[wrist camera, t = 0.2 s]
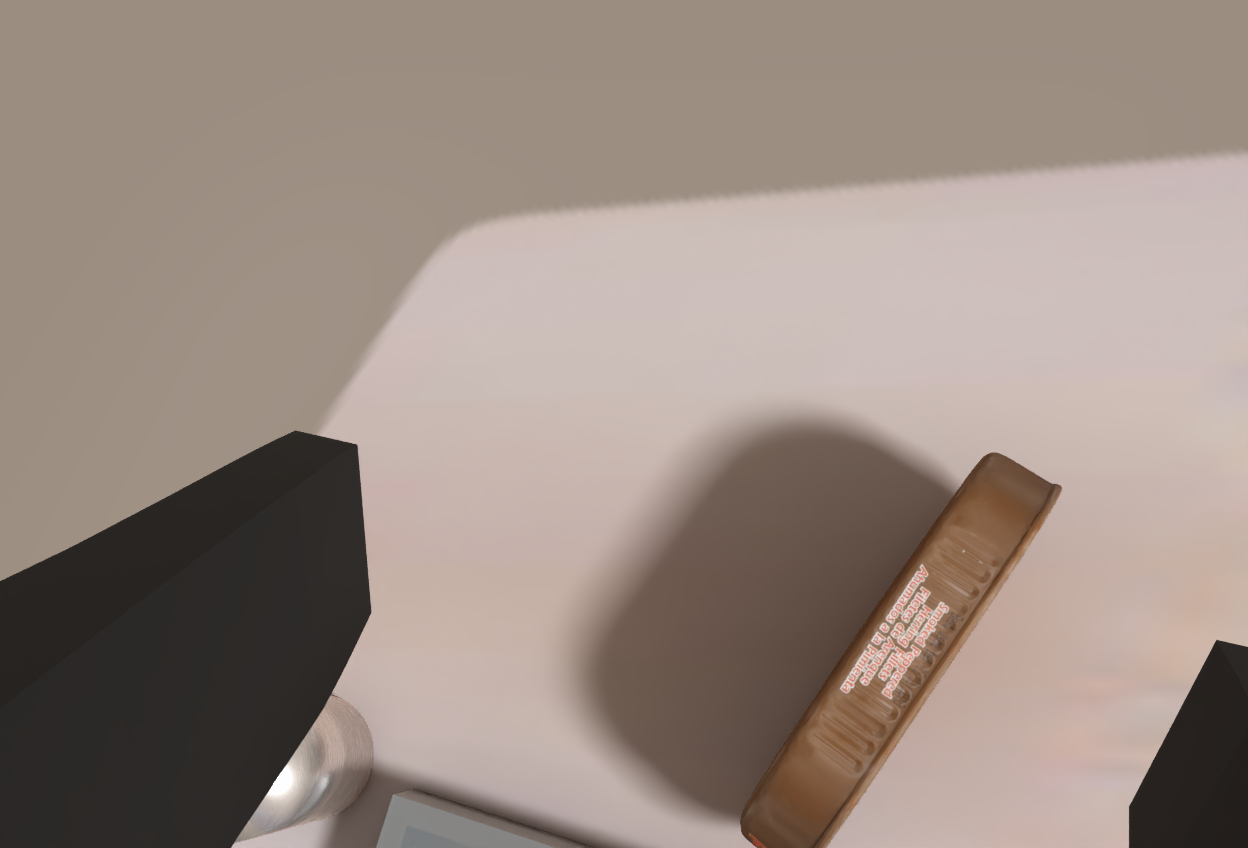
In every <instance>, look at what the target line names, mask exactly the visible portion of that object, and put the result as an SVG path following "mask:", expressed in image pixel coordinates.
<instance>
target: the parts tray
mask: <svg viewBox="0 0 1248 848" xmlns="http://www.w3.org/2000/svg"><path fill="white" fill-rule="evenodd" d="M376 848H593V847H590V846H587V845H584V844H581V843H578V842H575V841H572V840H569V839H566V838H563V837H559V836H556V835H553V834H550V833H547V832H544V831H541V830H538V829H535V828H532V827H529V826H526V825H523V824H520V823H517V822H514V821H511V820H507V819H504V818H501V817H498V816H495V815H492V814H489V813H486V812H483V811H480V810H477V809H474V808H471V807H468V806H465V805H462V804H459V803H455V802H452V801H449V800H446V799H443V798H440V797H437V796H434V795H431V794H428V793H425V792H422V791H419V790H416V789H412V790H408V791H404V792H400V793H396V794H393V796H392V799H391V802H390V805H389V808H388V811H387V814H386V817H385V821H384V824H383V827H382V830H381V833H380V836H379V839H378V843H377V846H376Z"/></svg>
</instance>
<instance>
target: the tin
mask: <svg viewBox="0 0 1248 848" xmlns="http://www.w3.org/2000/svg"><path fill="white" fill-rule="evenodd" d="M1061 491H1062V487H1061V486H1060V485H1058V484H1051V483H1049V482H1048V481H1046V480H1044V479H1043V478H1041V477H1039V476H1038V475H1036V474H1035V473H1033V472H1031V471H1030V470H1028V469H1027V468H1025V467H1023V466H1021V465H1020V464H1018V463H1016V462H1015V461H1013V460H1011V459H1010V458H1008V457H1006V456H1004V455H1002V454H999V453H989V454H987V455H985V456H984V457H983V458H982V459H981V460H980V461H979V463H978V464H977V465H976V466H975V467H974V469H973V470H972V471H971V473H970V474H969V475H968V477H967V478H966V479H965V481H964V482H963V484H962V485H961V487H960V488H959V489H958V491H957V492H956V494H955V495H954V496H953V498H952V499H951V501H950V502H949V504H948V505H947V506H946V508H945V509H944V511H943V512H942V513H941V515H940V516H939V518H938V519H937V520H936V522H935V523H934V525H933V526H932V528H931V529H930V530H929V532H928V533H927V535H926V536H925V538H924V539H923V540H922V542H921V543H920V545H919V546H918V548H917V549H916V550H915V552H914V553H913V555H912V556H911V558H910V559H909V560H908V562H907V563H906V565H905V566H904V568H903V569H902V571H901V572H900V573H899V575H898V576H897V578H896V579H895V581H894V582H893V583H892V585H891V586H890V588H889V589H888V591H887V592H886V593H885V595H884V596H883V598H882V599H881V601H880V602H879V603H878V605H877V606H876V608H875V609H874V611H873V612H872V613H871V615H870V616H869V618H868V619H867V621H866V622H865V624H864V625H863V627H862V628H861V630H860V631H859V632H858V634H857V635H856V637H855V638H854V640H853V641H852V643H851V644H850V646H849V647H848V649H847V650H846V652H845V653H844V655H843V656H842V658H841V659H840V661H839V662H838V664H837V665H836V667H835V668H834V670H833V671H832V673H831V674H830V676H829V677H828V679H827V680H826V682H825V684H824V685H823V687H822V688H821V690H820V691H819V693H818V694H817V696H816V697H815V699H814V700H813V702H812V703H811V705H810V706H809V708H808V709H807V711H806V712H805V714H804V715H803V717H802V718H801V720H800V721H799V723H798V724H797V726H796V727H795V729H794V730H793V732H792V733H791V735H790V736H789V738H788V739H787V741H786V742H785V744H784V745H783V747H782V748H781V750H780V752H779V753H778V755H777V756H776V758H775V759H774V761H773V762H772V764H771V765H770V767H769V768H768V770H767V771H766V773H765V775H764V776H763V778H762V779H761V781H760V782H759V784H758V785H757V787H756V789H755V790H754V792H753V794H752V796H751V797H750V799H749V801H748V802H747V804H746V806H745V808H744V810H743V813H742V816H741V821H740V823H741V832H742V834H743V835H744V837H745V838H746V839H747V840H748V841H750V842H751V843H752V844H753V845H754V846H756V847H757V848H826V847H827V846H828V844H829V843H830V842H831V840H832V839H833V837H834V836H835V834H836V833H837V832H838V831H839V829H840V828H841V826H842V825H843V824H844V822H845V821H846V819H847V818H848V816H849V815H850V814H851V812H852V810H853V808H854V807H855V806H856V805H857V803H858V802H859V800H860V799H861V797H862V796H863V794H864V793H865V792H866V790H867V788H868V787H869V785H870V784H871V782H872V781H873V780H874V778H875V777H876V775H877V774H878V772H879V771H880V770H881V768H882V766H883V765H884V763H885V762H886V760H887V759H888V757H889V756H890V754H891V753H892V751H893V750H894V748H895V747H896V745H897V744H898V742H899V741H900V739H901V738H902V736H903V735H904V733H905V732H906V730H907V729H908V727H909V726H910V724H911V723H912V722H913V720H914V719H915V717H916V716H917V714H918V713H919V711H920V710H921V708H922V706H923V705H924V704H925V702H926V700H927V699H928V697H929V696H930V694H931V693H932V691H933V690H934V689H935V687H936V685H937V684H938V682H939V680H940V679H941V677H942V676H943V674H944V673H945V672H946V670H947V669H948V667H949V666H950V664H951V663H952V661H953V660H954V658H955V657H956V655H957V654H958V652H959V651H960V649H961V648H962V646H963V644H964V643H965V641H966V640H967V639H968V637H969V636H970V634H971V632H972V631H973V630H974V628H975V627H976V625H977V624H978V622H979V621H980V619H981V618H982V616H983V615H984V613H985V612H986V610H987V609H988V607H989V605H990V604H991V602H992V601H993V600H994V598H995V597H996V595H997V594H998V592H999V591H1000V589H1001V588H1002V586H1003V585H1004V583H1005V582H1006V581H1007V579H1008V578H1009V576H1010V574H1011V573H1012V571H1013V570H1014V569H1015V567H1016V566H1017V564H1018V563H1019V561H1020V560H1021V558H1022V557H1023V555H1024V553H1025V552H1026V550H1027V549H1028V547H1029V545H1030V544H1031V542H1032V541H1033V539H1034V537H1035V536H1036V534H1037V532H1038V531H1039V530H1040V528H1041V527H1042V525H1043V523H1044V522H1045V519H1046V518H1047V516H1048V514H1049V513H1050V511H1051V509H1052V508H1053V506H1054V505H1055V503H1056V501H1057V499H1058V497H1059V495H1060V493H1061Z"/></svg>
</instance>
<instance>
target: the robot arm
mask: <svg viewBox="0 0 1248 848" xmlns="http://www.w3.org/2000/svg"><path fill="white" fill-rule="evenodd" d="M370 614H371V603H370V591H369V579H368V567H367V555H366V543H365V531H364V519H363V507H362V495H361V483H360V471H359V459H358V447H357V445H356V444H352V443H348V442H343V441H339V440H334V439H330V438H326V437H321V436H317V435H312V434H308V433H304V432H299V431H294V432H291V433H289V434H287V435H285V436H283V437H281V438H279V439H276V440H274V441H272V442H270V443H268V444H266V445H264V446H263V447H260V448H258V449H256V450H254V451H252V452H251V453H249V454H247V455H245V456H243V457H241V458H239V459H237V460H235V461H233V462H232V463H230V464H228V465H226V466H224V467H222V468H220V469H219V470H216V471H215V472H213V473H211V474H209V475H207V476H205V477H203V478H202V479H200V480H198V481H196V482H194V483H192V484H190V485H189V486H187V487H185V488H183V489H181V490H180V491H178V492H175V493H174V494H172V495H170V496H168V497H166V498H164V499H162V500H160V501H159V502H157V503H155V504H153V505H151V506H149V507H147V508H145V509H143V510H141V511H139V512H138V513H136V514H134V515H132V516H130V517H128V518H126V519H124V520H122V521H120V522H118V523H117V524H115V525H113V526H111V527H109V528H107V529H106V530H103V531H102V532H99V533H98V534H96V535H94V536H92V537H90V538H88V539H86V540H84V541H82V542H80V543H79V544H77V545H74V546H72V547H71V548H69V549H67V550H65V551H62V552H60V553H58V554H56V555H54V556H52V557H50V558H48V559H46V560H44V561H42V562H39V563H37V564H35V565H33V566H31V567H29V568H27V569H25V570H23V571H21V572H19V573H16V574H14V575H12V576H10V577H8V578H6V579H4V580H2V581H0V848H231V847H232V845H233V844H234V842H235V841H236V839H237V838H238V836H239V835H240V833H241V832H242V830H243V829H244V827H245V826H246V824H247V823H248V822H249V820H250V819H251V817H252V816H253V814H254V813H255V811H256V810H257V808H258V807H259V805H260V804H261V802H262V801H263V799H264V798H265V796H266V795H267V793H268V792H269V790H270V789H271V788H272V786H273V785H274V783H275V782H276V780H277V779H278V777H279V776H280V774H281V773H282V771H283V770H284V768H285V767H286V765H287V764H288V762H289V761H290V759H291V758H292V756H293V754H294V753H295V751H296V750H297V748H298V747H299V745H300V744H301V742H302V741H303V739H304V738H305V736H306V735H307V733H308V732H309V730H310V729H311V727H312V726H313V724H314V723H315V721H316V720H317V718H318V716H319V715H320V713H321V712H322V710H323V709H324V707H325V705H326V703H327V701H328V699H329V697H330V695H331V693H332V691H333V689H334V688H335V686H336V684H337V682H338V680H339V678H340V676H341V674H342V672H343V670H344V668H345V666H346V664H347V662H348V660H349V658H350V656H351V654H352V652H353V650H354V648H355V646H356V644H357V641H358V639H359V637H360V635H361V633H362V631H363V629H364V627H365V625H366V623H367V621H368V619H369V616H370ZM1129 848H1248V647H1245V646H1241V645H1236V644H1232V643H1228V642H1223V641H1219V640H1216V642H1215V644H1214V646H1213V648H1212V650H1211V651H1210V653H1209V655H1208V657H1207V659H1206V661H1205V663H1204V665H1203V667H1202V669H1201V671H1200V672H1199V674H1198V676H1197V678H1196V680H1195V682H1194V684H1193V686H1192V688H1191V690H1190V692H1189V694H1188V695H1187V697H1186V699H1185V701H1184V703H1183V705H1182V707H1181V709H1180V711H1179V713H1178V715H1177V716H1176V718H1175V720H1174V722H1173V724H1172V726H1171V728H1170V730H1169V732H1168V734H1167V736H1166V737H1165V739H1164V741H1163V743H1162V745H1161V747H1160V749H1159V751H1158V753H1157V755H1156V757H1155V758H1154V760H1153V762H1152V764H1151V766H1150V768H1149V770H1148V772H1147V774H1146V776H1145V778H1144V779H1143V781H1142V783H1141V785H1140V787H1139V789H1138V791H1137V793H1136V795H1135V797H1134V799H1133V801H1132V802H1131V804H1130V806H1129Z"/></svg>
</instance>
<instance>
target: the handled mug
mask: <svg viewBox="0 0 1248 848" xmlns="http://www.w3.org/2000/svg"><path fill="white" fill-rule="evenodd" d="M372 764H373V741H372V737H371V733H370V730H369V728H368V725H367V724H366V722H365V720H364V718H363V717H362V716H361V714H360V713H359V712H358V711H357V710H356V709H355V708H354V707H353V706H352V705H351V704H349V703H348V702H346V701H345V700H343V699H341V698H338V697H336V696H333V695H330V697H329V699H328V701H327V703H326V705H325V707H324V709H323V710H322V712H321V713H320V715H319V716H318V718H317V720H316V721H315V723H314V724H313V726H312V727H311V729H310V730H309V732H308V733H307V735H306V736H305V738H304V739H303V741H302V742H301V744H300V745H299V747H298V748H297V750H296V751H295V753H294V754H293V756H292V758H291V759H290V761H289V762H288V764H287V765H286V767H285V768H284V770H283V771H282V773H281V774H280V776H279V777H278V779H277V780H276V782H275V783H274V785H273V786H272V788H271V789H270V790H269V792H268V793H267V795H266V796H265V798H264V799H263V801H262V802H261V804H260V805H259V807H258V808H257V810H256V811H255V813H254V814H253V816H252V817H251V819H250V820H249V822H248V823H247V824H246V826H245V827H244V829H243V830H242V832H241V833H240V835H239V836H238V838H237V839H236V841H235V842H240V841H244V840H248V839H252V838H255V837H259V836H263V835H266V834H270V833H274V832H278V831H281V830H285V829H289V828H292V827H296V826H300V825H304V824H307V823H311V822H315V821H318V820H322V819H326V818H329V817H332V816H334V815H336V814H338V813H340V812H341V811H343V810H344V809H346V808H347V807H348V806H349V805H351V804H352V803H353V802H354V801H355V800H356V798H357V797H358V796H359V795H360V793H361V792H362V790H363V789H364V787H365V785H366V783H367V781H368V778H369V776H370V773H371V769H372ZM235 842H234V843H235Z"/></svg>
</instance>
